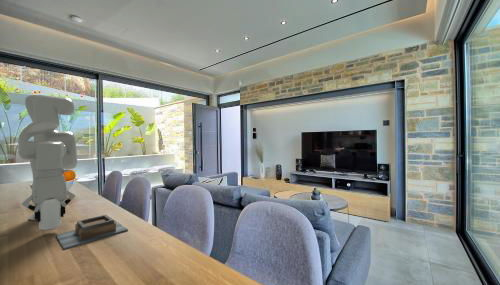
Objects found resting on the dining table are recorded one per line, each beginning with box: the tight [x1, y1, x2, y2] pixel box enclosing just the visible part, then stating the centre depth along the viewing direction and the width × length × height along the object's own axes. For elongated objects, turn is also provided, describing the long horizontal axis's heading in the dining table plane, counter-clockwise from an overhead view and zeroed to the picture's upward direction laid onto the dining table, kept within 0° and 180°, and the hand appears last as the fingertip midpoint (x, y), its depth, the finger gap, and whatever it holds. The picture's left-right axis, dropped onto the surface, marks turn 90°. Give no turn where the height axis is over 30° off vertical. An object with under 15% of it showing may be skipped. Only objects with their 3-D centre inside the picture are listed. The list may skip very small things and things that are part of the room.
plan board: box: [55, 214, 129, 250], centre depth 87 cm, size 16×20×5 cm
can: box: [38, 198, 62, 231], centre depth 87 cm, size 6×6×12 cm
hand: (50, 218), depth 87 cm, fingers closed on can, 6 cm apart
